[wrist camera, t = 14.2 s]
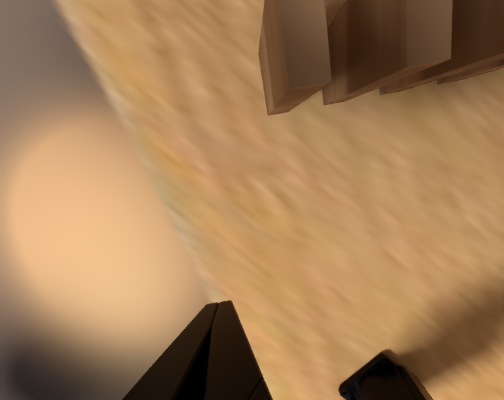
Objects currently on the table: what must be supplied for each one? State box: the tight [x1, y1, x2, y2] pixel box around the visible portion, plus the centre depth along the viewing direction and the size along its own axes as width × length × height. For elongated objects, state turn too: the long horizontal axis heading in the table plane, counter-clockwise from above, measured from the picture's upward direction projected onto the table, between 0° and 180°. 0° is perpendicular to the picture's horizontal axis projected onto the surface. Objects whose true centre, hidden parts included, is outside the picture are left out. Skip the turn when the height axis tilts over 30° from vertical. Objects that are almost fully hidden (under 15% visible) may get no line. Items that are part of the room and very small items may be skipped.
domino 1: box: [258, 0, 332, 115], centre depth 13 cm, size 2×4×10 cm, turn 10°
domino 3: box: [380, 0, 504, 95], centre depth 13 cm, size 2×4×10 cm, turn 10°
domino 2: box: [322, 0, 453, 105], centre depth 13 cm, size 2×4×10 cm, turn 10°
